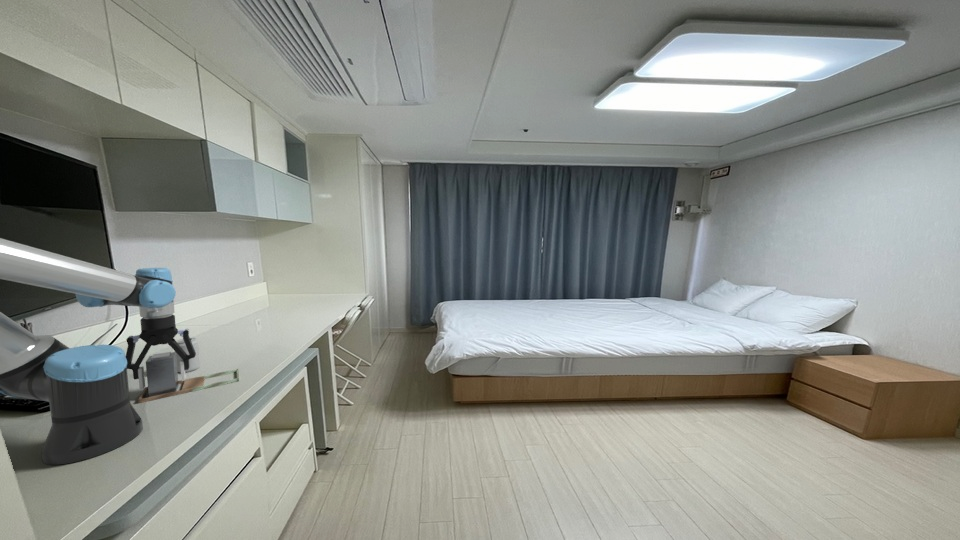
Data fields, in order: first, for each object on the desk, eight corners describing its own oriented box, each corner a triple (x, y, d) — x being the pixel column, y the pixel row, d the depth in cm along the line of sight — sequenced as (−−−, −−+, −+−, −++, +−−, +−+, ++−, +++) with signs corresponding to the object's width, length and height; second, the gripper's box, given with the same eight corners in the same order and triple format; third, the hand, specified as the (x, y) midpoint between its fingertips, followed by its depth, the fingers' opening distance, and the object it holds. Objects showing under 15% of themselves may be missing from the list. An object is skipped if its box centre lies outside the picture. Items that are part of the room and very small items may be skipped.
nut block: (149, 398, 94) (145, 360, 92) (152, 391, 98) (149, 354, 97) (176, 392, 98) (172, 355, 96) (178, 385, 102) (175, 350, 101)
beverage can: (204, 367, 117) (202, 337, 116) (186, 374, 111) (184, 342, 109) (189, 366, 118) (187, 336, 116) (171, 373, 111) (168, 342, 110)
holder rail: (137, 403, 91) (137, 400, 91) (145, 390, 99) (145, 387, 98) (238, 381, 106) (238, 378, 106) (238, 371, 114) (238, 368, 114)
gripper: (101, 324, 86) (109, 398, 88) (202, 313, 99) (207, 378, 102) (109, 318, 91) (116, 388, 94) (204, 309, 105) (208, 370, 107)
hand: (163, 383), depth 98 cm, fingers open, 9 cm apart
